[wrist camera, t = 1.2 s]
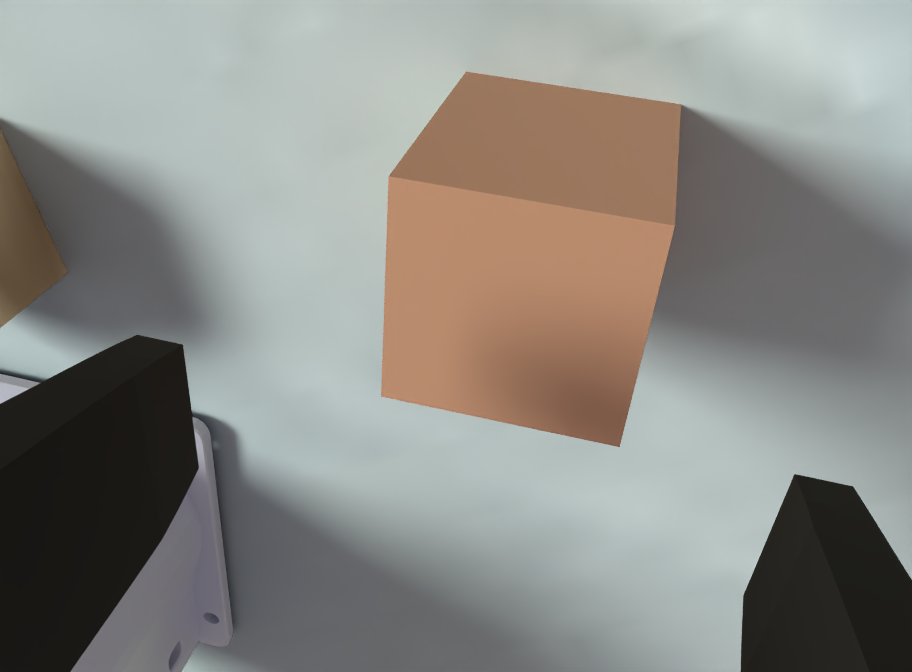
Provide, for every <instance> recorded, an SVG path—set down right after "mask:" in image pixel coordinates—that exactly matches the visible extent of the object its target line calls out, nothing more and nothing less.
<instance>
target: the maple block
mask: <svg viewBox="0 0 912 672" xmlns="http://www.w3.org/2000/svg"><path fill="white" fill-rule="evenodd" d="M67 273H68V272H67V270H66V268H65V266H64V263H63V261H62V259H61V257H60V255H59V253H58V251H57V249H56V246H55V244H54V242H53V240H52V238H51V236H50V234H49V231H48V229H47V227H46V225H45V223H44V221H43V219H42V217H41V214H40V212H39V210H38V208H37V206H36V204H35V202H34V199H33V197H32V195H31V193H30V191H29V189H28V187H27V184H26V182H25V180H24V178H23V176H22V174H21V172H20V170H19V167H18V165H17V163H16V161H15V159H14V157H13V155H12V152H11V150H10V148H9V146H8V144H7V142H6V140H5V138H4V135H3V133H2V131H1V129H0V328H1V327H2V326H3V325H5V324H6V323H7V322H8V321H9V320H11V319H12V318H13V317H14V316H16V315H17V314H18V313H19V312H20V311H22V310H23V309H24V308H25V307H26V306H28V305H29V304H30V303H31V302H33V301H34V300H35V299H36V298H37V297H39V296H40V295H41V294H42V293H44V292H45V291H46V290H47V289H48V288H50V287H51V286H52V285H53V284H54V283H56V282H57V281H58V280H59V279H61V278H62V277H63V276H64V275H65V274H67Z"/></svg>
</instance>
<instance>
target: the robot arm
mask: <svg viewBox="0 0 912 672" xmlns="http://www.w3.org/2000/svg"><path fill="white" fill-rule="evenodd" d="M232 636H233V625H232V617H231V608H230V599H229V591H228V582H227V574H226V565H225V556H224V548H223V539H222V531H221V522H220V513H219V505H218V496H217V487H216V479H215V470H214V462H213V453H212V444H211V436H210V432H209V429H208V428H207V426H206V425H205V424H204V423H203V422H202V421H200V420H199V419H197V418H194V417H192V411H191V403H190V396H189V388H188V380H187V373H186V365H185V358H184V350H183V345H182V344H177V343H173V342H168V341H163V340H159V339H154V338H149V337H144V336H140V335H136V336H133V337H131V338H129V339H127V340H125V341H122V342H120V343H118V344H116V345H114V346H112V347H110V348H108V349H106V350H104V351H102V352H100V353H98V354H96V355H94V356H92V357H90V358H88V359H86V360H84V361H82V362H80V363H78V364H76V365H74V366H72V367H70V368H68V369H66V370H65V371H63V372H61V373H59V374H57V375H55V376H53V377H51V378H49V379H47V380H45V381H43V382H42V383H39V382H34V381H30V380H25V379H21V378H16V377H12V376H7V375H3V374H0V672H182V670H183V668H184V667H185V665H186V663H187V661H188V660H189V658H190V656H191V654H192V652H193V651H194V649H195V647H196V645H197V644H198V642H200V643H204V644H208V645H212V646H216V647H223V646H226V645H228V644H229V642H230V640H231V638H232ZM741 672H912V580H911V578H910V576H909V575H908V573H907V572H906V570H905V569H904V567H903V565H902V564H901V562H900V561H899V559H898V557H897V556H896V554H895V553H894V551H893V549H892V548H891V546H890V545H889V543H888V541H887V540H886V538H885V536H884V535H883V533H882V532H881V530H880V528H879V527H878V525H877V524H876V522H875V520H874V519H873V517H872V516H871V514H870V512H869V511H868V509H867V508H866V506H865V504H864V503H863V501H862V500H861V498H860V497H859V495H858V494H857V492H856V490H855V489H854V487H853V486H848V485H843V484H839V483H834V482H829V481H824V480H820V479H815V478H810V477H806V476H801V475H796V474H795V475H794V477H793V479H792V482H791V484H790V486H789V489H788V491H787V494H786V496H785V498H784V501H783V503H782V505H781V508H780V510H779V512H778V515H777V517H776V520H775V522H774V524H773V527H772V529H771V531H770V534H769V536H768V539H767V541H766V543H765V546H764V548H763V550H762V553H761V555H760V558H759V560H758V562H757V565H756V567H755V569H754V572H753V574H752V577H751V579H750V581H749V584H748V586H747V588H746V591H745V593H744V596H743V619H742V643H741Z"/></svg>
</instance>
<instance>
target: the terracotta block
mask: <svg viewBox="0 0 912 672" xmlns="http://www.w3.org/2000/svg"><path fill="white" fill-rule="evenodd" d="M680 116H681V104H675V103H668V102H661V101H655V100H648V99H642V98H635V97H628V96H622V95H615V94H609V93H602V92H596V91H589V90H582V89H576V88H569V87H563V86H556V85H550V84H543V83H536V82H530V81H523V80H517V79H510V78H504V77H497V76H490V75H484V74H477V73H471V72H466V73H465V74H464V75H463V77H462V78H461V79H460V81H459V82H458V83H457V85H456V86H455V87H454V89H453V90H452V92H451V93H450V94H449V96H448V97H447V98H446V100H445V101H444V102H443V104H442V105H441V106H440V108H439V109H438V110H437V112H436V113H435V114H434V116H433V117H432V119H431V120H430V121H429V123H428V124H427V125H426V127H425V128H424V129H423V131H422V132H421V133H420V135H419V136H418V137H417V139H416V140H415V142H414V143H413V144H412V146H411V147H410V148H409V150H408V151H407V152H406V154H405V155H404V156H403V158H402V159H401V160H400V162H399V163H398V165H397V166H396V167H395V169H394V170H393V171H392V173H391V174H390V175H389V185H388V214H387V244H386V273H385V303H384V332H383V361H382V391H381V396H382V397H386V398H391V399H396V400H401V401H405V402H410V403H415V404H419V405H424V406H429V407H434V408H438V409H443V410H448V411H452V412H457V413H462V414H467V415H471V416H476V417H481V418H485V419H490V420H495V421H500V422H504V423H509V424H514V425H518V426H523V427H528V428H533V429H537V430H542V431H547V432H551V433H556V434H561V435H566V436H570V437H575V438H580V439H584V440H589V441H594V442H599V443H603V444H608V445H613V446H617V447H620V443H621V439H622V435H623V431H624V427H625V423H626V419H627V415H628V411H629V407H630V403H631V399H632V395H633V391H634V387H635V383H636V379H637V375H638V371H639V367H640V363H641V359H642V355H643V351H644V347H645V343H646V339H647V335H648V331H649V327H650V323H651V319H652V315H653V311H654V307H655V303H656V299H657V295H658V291H659V287H660V283H661V280H662V276H663V272H664V268H665V264H666V260H667V256H668V252H669V248H670V244H671V240H672V236H673V232H674V228H675V216H676V196H677V176H678V156H679V136H680Z"/></svg>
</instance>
